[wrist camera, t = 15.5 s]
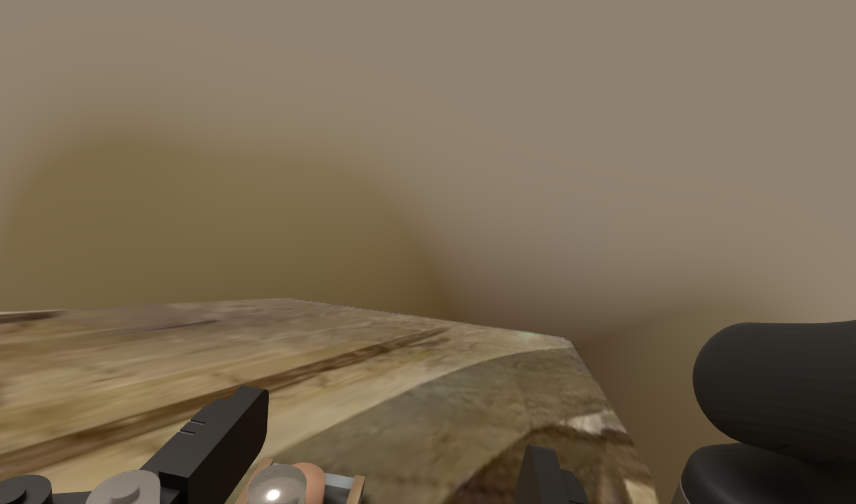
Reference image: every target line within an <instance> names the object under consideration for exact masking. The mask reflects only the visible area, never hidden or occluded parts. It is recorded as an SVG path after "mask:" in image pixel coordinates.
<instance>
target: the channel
mask: <svg viewBox="0 0 856 504" xmlns="http://www.w3.org/2000/svg"><path fill="white" fill-rule="evenodd" d="M273 465H278V464H276V463H273V459H267V458H263V459H262V461H261V462H260V464H259V465H258V467H257V469H256V470H255V472H254V473H253V475H252V477H251V478H250V480H249V482H248V483H247V485H246V486H245V488H244V490H243V491H242V493H241V494H240V496H239V498H238V499H237V501H236V502H235V504H248V490H249V485H250V483H251V481H252V479H253V478H254V477H255V476H256V475H257V474H258V473H259V472H260V471H262V470H263V469H265V468H267V467H270V466H273ZM324 474H325V489H324V498H323V504H361V502H362V497H363V489H364V482H365V477H363V476H358V475H355V477H354V478H350V477H345V476H339V475H334V474H329V473H324Z"/></svg>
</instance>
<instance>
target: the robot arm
mask: <svg viewBox="0 0 856 504" xmlns="http://www.w3.org/2000/svg"><path fill="white" fill-rule="evenodd" d="M693 386H694V392H695V395H696V398H697V401H698V403H699V405H700V407H701V409H702V411H703V413H704V414H705V415H706V417H707V418H708V419H709V421H710V422H711V423H712V424H713V425H714V426H715V427H716V428H717V429H719V430H720V431H721V432H723V433H724V434H726V435H727V436H729V437H730V438H732V439H735V440H737V441H739V442H741V443H732V444H720V445H710V446H705V447H702V448H699V449H698V450H696V451H695V452H694V453H693V454H692V455H691V456H690V458H689V459H688V462H687V463H686V466H685V468H684V471H683V473H682V476H681V479H680V481H679V484H678V487H677V489H676V491H675V494H674V497H673V499H672V502H671V504H856V320H853V321H845V322H833V323H814V324H809V323H807V324H806V323H804V324H803V323H802V324H801V323H799V324H797V323H794V324H793V323H789V324H788V323H739V324H735V325H731V326H729V327H726V328H724V329H723V330H721V331H719V332H718V333H716V334H715V335H714V336H713V337H711V338H710V339H709V340H708V342H707V343H706V344H705V345H704V346H703V348H702V349H701V351H700V353H699V354H698V357H697V359H696V362H695V365H694V369H693ZM268 403H269V392H268V390H266V389H262V388H257V387H252V386H247V385H242V386H241V387H239V388H238V389H237V391H236V392H235V393H234V394H233V395H232V396H231V397H230V398H229V399H228V400H227V399H222V398H220V399H218V400H216V401H214V402H212V403H211V404H209V405H207V406H205V407H203V408H202V409H201V410H200V411H199V412H198V413H197V414H196V415H195V416H194V417H193V418H192V419H191V421H190V422H188V423H187V424H186V425H185V426H184V427H182V428H181V429H180V432H177V433H176V434H175V435H174V436H173V437H172V438H171V439H170V440H169V441H168V442H167V443H166V444H165V445H164V446H163V447H162V448H161V449H160V450H159V451H158V452H157V453H156V454H155V455H154V456H153V457H152V458H151V459H149V460H148V461H147V462H146V463H145V464H144V465H143V466H142V467H141V468H140V469H139V470H133V471H127V472H124V473H120V474H118V475H115V476H113V477H111V478H109V479H107V480H106V481H104V482H102V483H101V484H100V485H98V486H97V487H96V488H95V489H94V490H93V491H88V492H74V493H59V494H52V488H51V483H50V481H49V480H48V479H47V478H45V477H43V476H40V475H24V476H18V477H14V478H10V479H7V480H4V481H2V482H0V504H224V503H225V502H226V500H227V499H228V497H229V496H230V494H231V493H232V492H233V490H234V489H235V487H236V486H237V484H238V483H239V482H240V480H241V479H242V477H243V476H244V474H245V473H246V471H247V470H248V469H249V467H250V466H251V464H252V463H253V461H254V460H255V459H256V457H257V456H258V454H259V453H260V451H261V449H262V447H263V444H264V441H265V438H266V433H267V420H268ZM515 504H588V501H587V497H586V494H585V491H584V488H583V487H582V485H581V484H580V482H579V481H578V480H577V478H576V477H575V476H574V474H573V473H572V472H570V471H566V470H561V469H560V467H559V463H558V459H557V455H556V452H555V450H554V449H552V448H547V447H542V446H537V445H532V444H528V445H527V447H526V450H525V454H524V458H523V462H522V466H521V470H520V473H519V477H518V481H517V485H516V491H515Z"/></svg>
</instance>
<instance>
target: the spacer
mask: <svg viewBox="0 0 856 504" xmlns="http://www.w3.org/2000/svg"><path fill="white" fill-rule="evenodd" d="M293 466H295V467H297V468H299V469H300V470H301V471H302V472H303V473H304V474H305V476H306V479H307V488H306V499H305V504H323V498H324V489H325V474H324V472H323V471H322V469H321V468H319V467H318V466H316V465H314V464H311V463H297V464H294V465H293Z"/></svg>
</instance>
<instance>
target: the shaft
mask: <svg viewBox="0 0 856 504" xmlns="http://www.w3.org/2000/svg"><path fill="white" fill-rule="evenodd" d="M306 488H307V479H306V476H305V474H304V473H303V472H302V471H301V470H300V469H299V468H297V467H295V466H293V465H288V464H278V465H273V466H270V467H267V468H265V469H263V470H262V471H260V472H259V473H258V474H257V475H256V476H255V477H254V478H253V479H252V481H251V483H250V485H249V490H248V504H305V499H306Z"/></svg>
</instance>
